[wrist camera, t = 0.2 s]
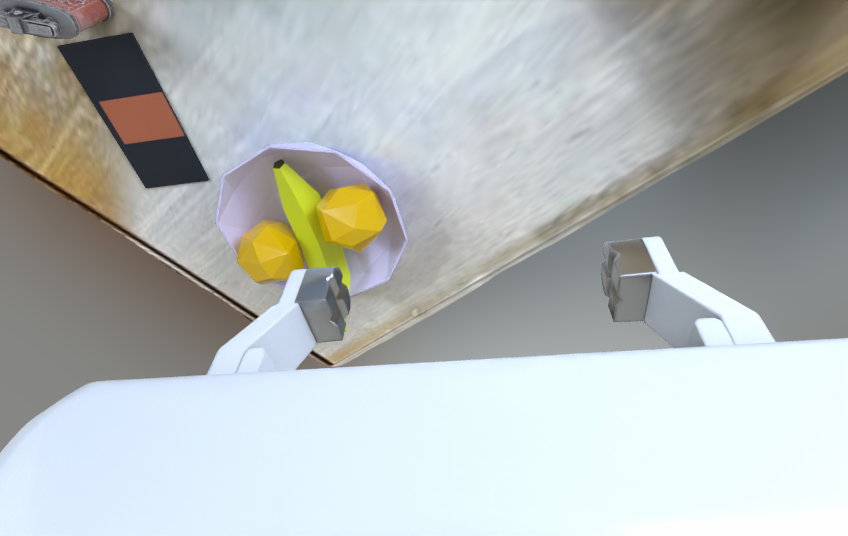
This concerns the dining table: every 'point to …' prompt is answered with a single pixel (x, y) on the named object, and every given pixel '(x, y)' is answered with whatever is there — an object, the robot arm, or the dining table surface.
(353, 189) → the fruit bowl
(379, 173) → the dining table surface
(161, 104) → the mat
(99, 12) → the lighter
